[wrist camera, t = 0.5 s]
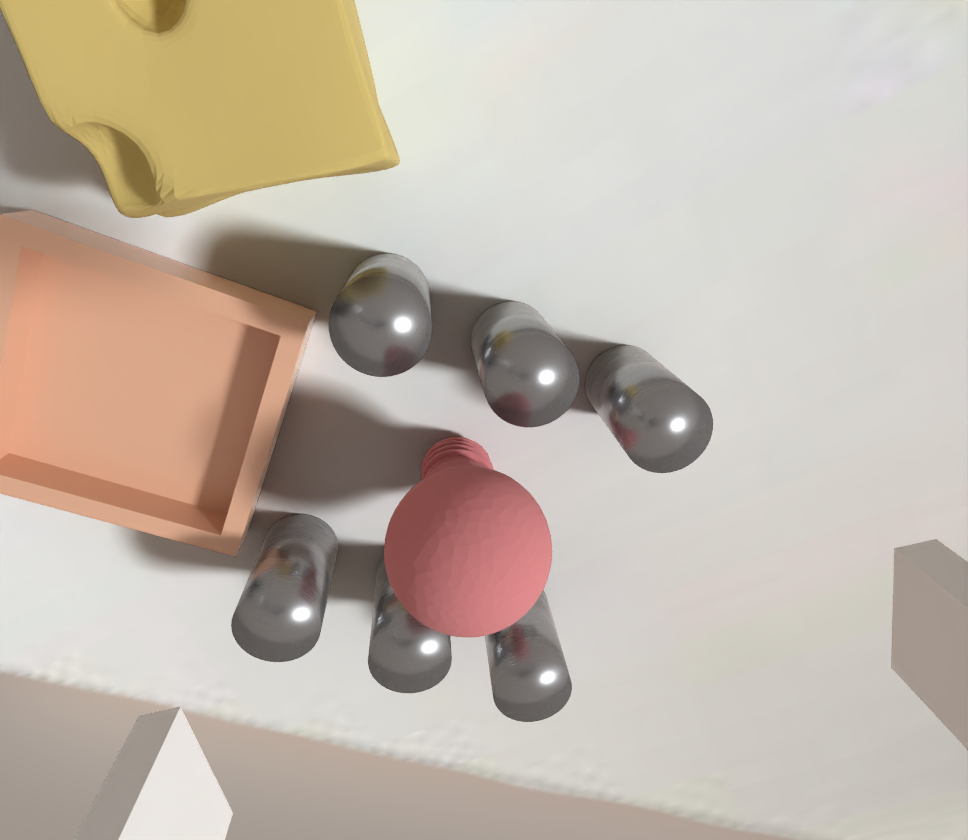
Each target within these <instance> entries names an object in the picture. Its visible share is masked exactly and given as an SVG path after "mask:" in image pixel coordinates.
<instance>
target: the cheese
mask: <svg viewBox="0 0 968 840" xmlns="http://www.w3.org/2000/svg"><path fill="white" fill-rule="evenodd" d="M0 8H1V11H2V13H3V15H4V17H5V20H6V22H7V24H8V26H9V29H10V31H11V33H12V36H13V38H14V40H15V43H16V45H17V47H18V50H19V52H20V54H21V57H22V59H23V62H24V64H25V67H26V69H27V72H28V74H29V77H30V79H31V81H32V84H33V86H34V88H35V90H36V92H37V95H38V97H39V100H40V102H41V104H42V106H43V108H44V109H45V111H46V113H47V115H48V116H49V118H50V120H51V121H52V122H53V123H54V124H55V125H56V126H58V127H59V128H60V129H61V130H63V131H64V132H65V133H67V134H69V135H70V136H72V137H74V138H75V139H77V140H78V141H79V142H80V143H82V144H83V145H84V146H85V147H86V148H87V149H88V150H89V151H90V153H91V154H92V155H93V156H94V158H95V160H96V161H97V163H98V164H99V166H100V169H101V171H102V173H103V175H104V178H105V180H106V183H107V186H108V189H109V192H110V195H111V197H112V200H113V202H114V204H115V206H116V208H117V209H118V211H119V212H120V213H121V214H123V215H125V216H127V217H131V218H141V217H146V216H150V215H154V214H158V215H161V216H164V217H174V216H180V215H185V214H188V213H191V212H194V211H196V210H199V209H201V208H204V207H206V206H208V205H211V204H213V203H216V202H218V201H221V200H223V199H226V198H229V197H231V196H234V195H237V194H240V193H243V192H247V191H251V190H256V189H261V188H266V187H271V186H276V185H282V184H287V183H292V182H297V181H303V180H309V179H316V178H323V177H333V176H342V175H352V174H360V173H368V172H375V171H380V170H385V169H389V168H392V167H395V166H397V165H398V164H399V156H398V152H397V150H396V147H395V144H394V142H393V139H392V136H391V134H390V131H389V129H388V126H387V124H386V121H385V119H384V117H383V114H382V112H381V109H380V107H379V104H378V99H377V94H376V89H375V84H374V79H373V75H372V71H371V67H370V62H369V58H368V54H367V50H366V46H365V42H364V38H363V34H362V30H361V26H360V21H359V17H358V13H357V9H356V5H355V1H354V0H0Z"/></svg>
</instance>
